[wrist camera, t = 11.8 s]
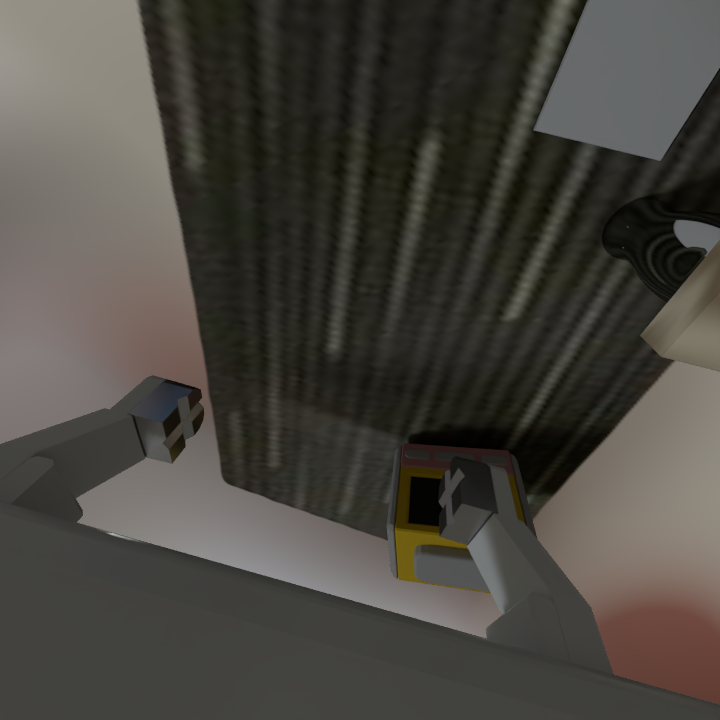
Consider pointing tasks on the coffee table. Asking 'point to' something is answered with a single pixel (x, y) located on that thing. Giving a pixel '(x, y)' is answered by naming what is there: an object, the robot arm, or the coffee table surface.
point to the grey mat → (634, 73)
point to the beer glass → (661, 242)
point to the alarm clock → (437, 515)
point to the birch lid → (691, 318)
